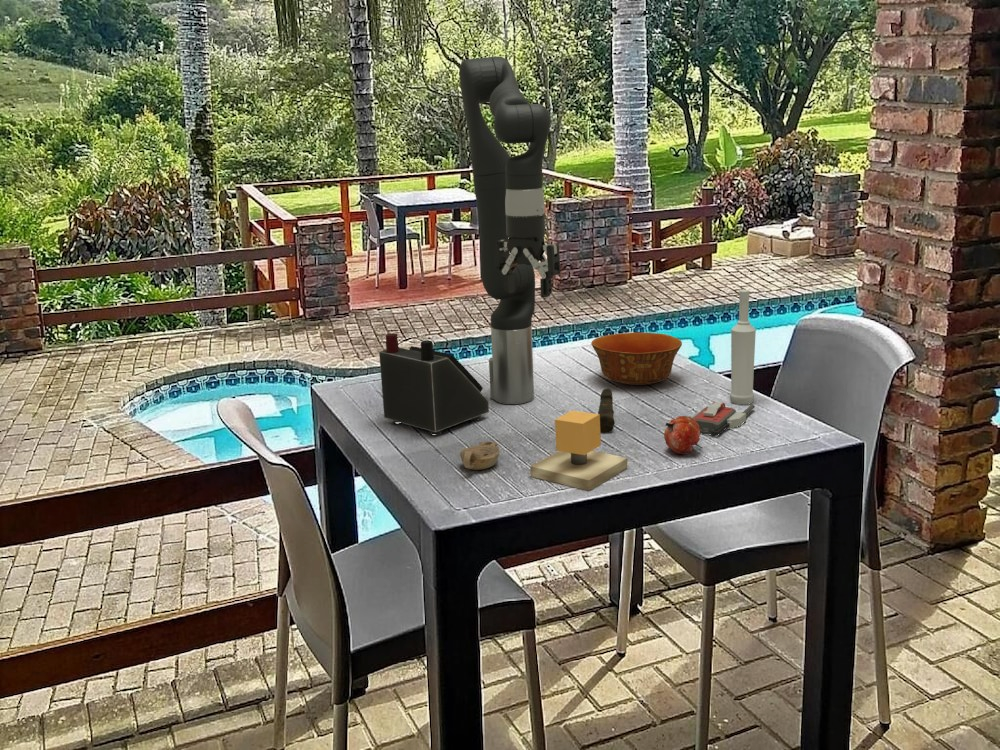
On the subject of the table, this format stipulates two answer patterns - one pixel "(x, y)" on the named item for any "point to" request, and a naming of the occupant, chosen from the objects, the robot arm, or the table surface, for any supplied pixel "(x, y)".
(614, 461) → the cream base with peg
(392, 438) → the table surface
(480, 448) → the oil lamp
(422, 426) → the voltmeter
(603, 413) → the hand tool
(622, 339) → the bowl
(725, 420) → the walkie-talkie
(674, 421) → the pomegranate
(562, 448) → the mustard yellow cube
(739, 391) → the bottle
